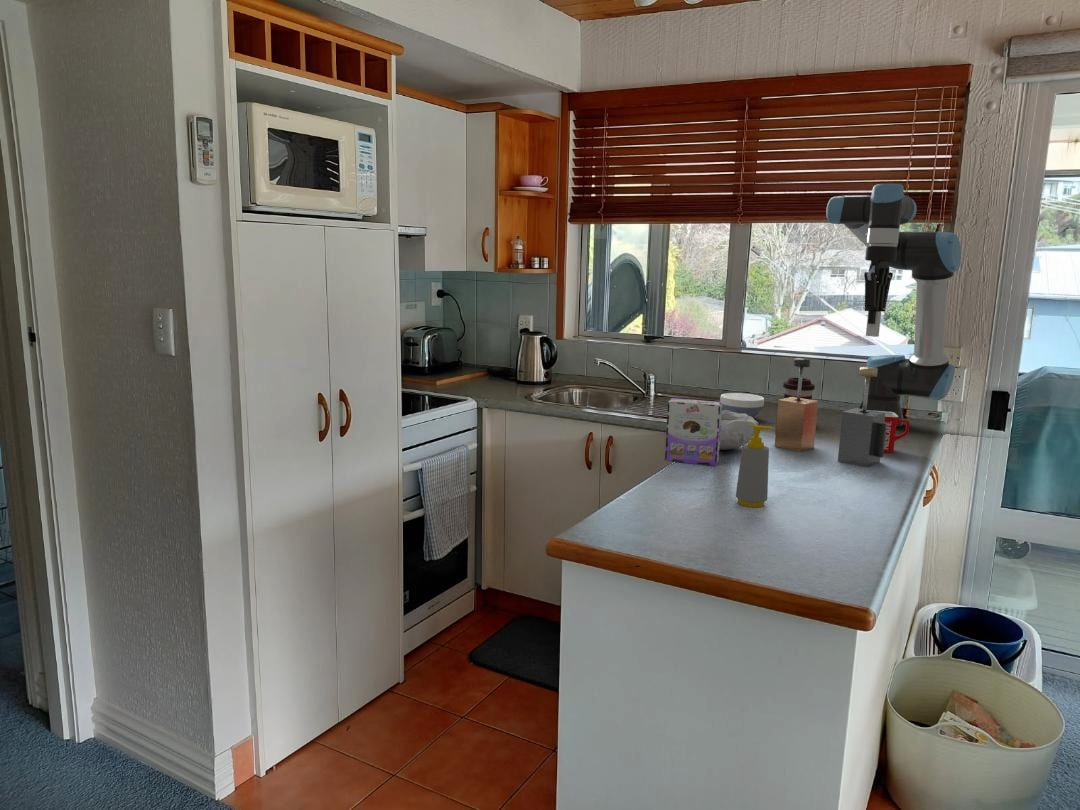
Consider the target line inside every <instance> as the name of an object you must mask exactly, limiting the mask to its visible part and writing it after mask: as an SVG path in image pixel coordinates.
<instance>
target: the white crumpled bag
mask: <svg viewBox="0 0 1080 810" xmlns="http://www.w3.org/2000/svg"><path fill="white" fill-rule="evenodd" d="M750 424H754V425H759V422H758V421H757V420H755V418H754V419H753V418H752V417H751V416H748V415H746V414H738V413H735V412H732V411H729V410H724V409H723V410H722V414H721V433H720V447H719V451H720V450H721V451H722V450H723V451H729V450H736V449H738V448H739V449H740V448H742V446H743V445H746V444H748V441H751V437H753V436H754V427H753V426H750ZM759 426H760V425H759Z"/></svg>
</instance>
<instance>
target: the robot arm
mask: <svg viewBox="0 0 1080 810" xmlns="http://www.w3.org/2000/svg"><path fill="white" fill-rule="evenodd" d="M871 191H872V192H871V195H839V196H833V197H831V198H830V199H829V200H828V203H827V206H826V219H827V221H828V222H829V224H832V225H833V224H834V225H843V226H845V227H846V228H847V229H848V231H850V232H851V233H852V234H853V235H854V236H855V237H856V238H857V239H858V240H859V241H860V242H861V243H862V244H863V245H864V246H865V255H864V260H865V261H870V264H869V268H868V271H865V272H864V274H863V276H864V311H865V312H867V320H866V331H865V336H866V337H875V338H876V337H877V338H878V337H879V336H880V329H881V328H880V327H881V319H882V318H881V317H882V312H886V307H887V302H888V296H889V291H890V285H891V282H892V278H893V276H894V273H893V272H891V271H890V268H893V269H895V270H905V271H911V278H912V279H913V280H914V281H915V282H916V296H915V319H914V320H915V324H914V325H915V326H914V349H913V350H914V351H913V353H912V354H911V355H910V356H909V357H908V359H907V360H906V356H905V355H904V354H883V355H873V356H869V358H868V359H867V360H866V366H865V367H872V368H877V369H878V370H877V377H870V380H869V389H868V399H867V408H866V410H871V411H886V412H893V413H895V414H896V415H898V419H901V420H904V415H903V410H902V406H901V396H907V397H908V396H909V397H914V398H922V399H928V400H943V399H945V398H946V397H947V395H948V394H949V392H950V389H951V387H952V383H953V381H954V378H955V377H954V376H955V370H956V368H955V364H951V363H950V358H949V356H948V355H946V354H945V339H946V335H945V333H946V318H947V317H946V316H947V301H948V282H949V281H950V280H951V279H952V278H953V277H954V273H955V272H958V270H959V269H960V267H961V265H962V264H961V262H962V261H961V260H962V246H961V242H960V239H959V237H958V235H957V234H956V233H954V232H947V231H945V232H943V231H900V227H901V225H905V224H908V223H910V222H911V221H912V220H913V219H914V218H915V217H916V214H917V208H918V207H917V204H916V202H915V200H914V199H913V198H911V197H910V196H907V195H905V193H904V191H905V189H904V186H903V184H901V183H878V184H875V185H874V186H873V187H872V190H871ZM865 380H866V376H864V382H863V392H862V399H861V402H860V404H859V405H858V408H859V409H862V408H863V398H864V389H865ZM903 426H904V422H901V423H898V424H897V426H896V428H897V427H898V428H900V427H903Z"/></svg>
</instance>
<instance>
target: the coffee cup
mask: <svg viewBox="0 0 1080 810" xmlns="http://www.w3.org/2000/svg"><path fill="white" fill-rule="evenodd" d="M798 380H799V377H788V380H787V381H784V382H783V384H782V385H783V386H782V387H783V388H784V393H783V399H784V398H789V397H797V391H798ZM814 390H815V384H814V383H812V381H811V379H809V378H804V377H802V387H801V398H803V399H810V400H813V391H814Z"/></svg>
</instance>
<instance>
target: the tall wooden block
mask: <svg viewBox="0 0 1080 810" xmlns="http://www.w3.org/2000/svg"><path fill="white" fill-rule="evenodd" d="M777 401H778V402H777V409H776V421H775V430H774V436H775V437H774V447H776V448H777V447H778V448H781V449H787V450H791V451H795V452H804V451H807V450H810V449H812V448H815V440H816V430H817V429H816V428H817V421H818V420H817V419H818V409H819V400H817V399H816V400H815V399H812V400H810V399H803V398H800V401H797V397H789V398H784V397H783V398H782V399H781V398H780V399H778V400H777Z"/></svg>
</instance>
